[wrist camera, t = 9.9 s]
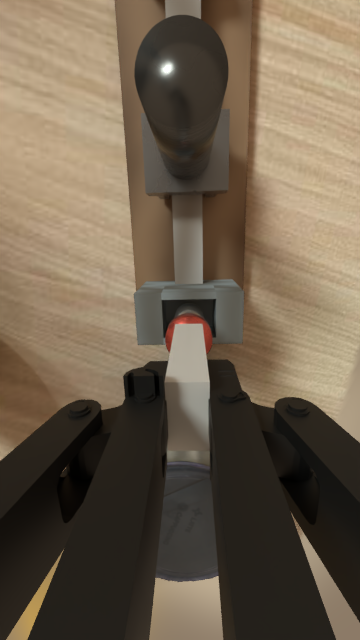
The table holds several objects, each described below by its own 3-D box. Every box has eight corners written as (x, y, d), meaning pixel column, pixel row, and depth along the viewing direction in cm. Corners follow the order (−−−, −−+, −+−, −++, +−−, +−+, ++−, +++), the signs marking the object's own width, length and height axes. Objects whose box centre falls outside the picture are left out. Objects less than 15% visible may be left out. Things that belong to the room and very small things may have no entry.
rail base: (140, 319, 29) (125, 345, 22) (116, -13, 21) (82, -127, 15) (240, 317, 28) (255, 343, 21) (250, -22, 21) (279, -144, 14)
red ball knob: (171, 334, 22) (166, 362, 17) (170, 299, 21) (164, 318, 16) (207, 334, 22) (212, 361, 17) (207, 298, 21) (212, 317, 16)
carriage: (152, 199, 24) (106, 155, 11) (148, 131, 23) (90, -10, 10) (223, 196, 24) (261, 148, 11) (223, 128, 22) (269, -22, 9)
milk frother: (159, 344, 29) (130, 444, 15) (298, 392, 30) (393, 529, 16) (121, 449, 33) (69, 608, 19) (245, 489, 34) (283, 668, 20)
